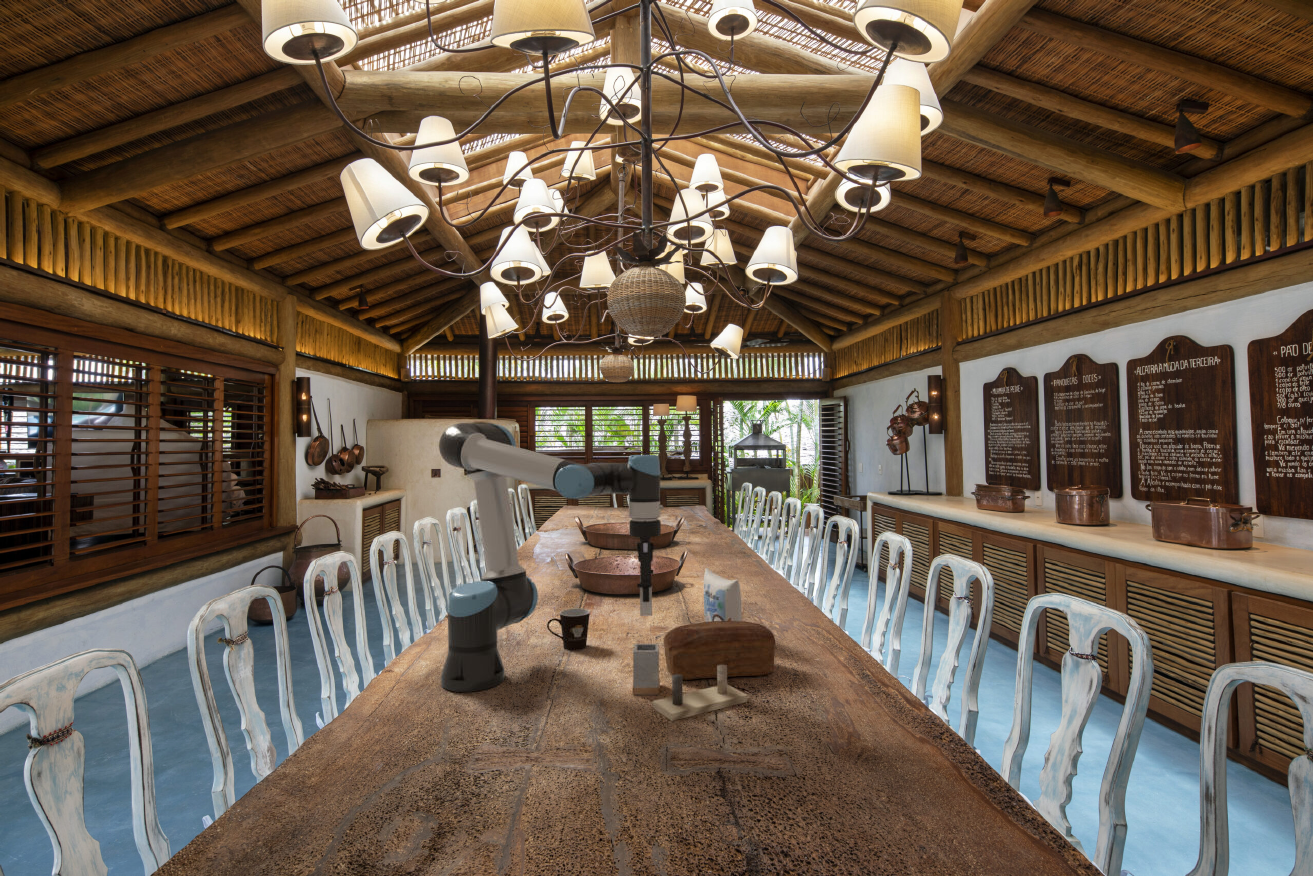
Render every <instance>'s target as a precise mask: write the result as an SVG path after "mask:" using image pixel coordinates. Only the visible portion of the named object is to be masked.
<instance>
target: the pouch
mask: <svg viewBox="0 0 1313 876" xmlns="http://www.w3.org/2000/svg"><path fill="white" fill-rule="evenodd" d="M704 570H705V571H704V573H703V575H704V576H703V607H704V608H703V610H704V611H703V615H704V622H710V621H743V616H742V614H743V613H742V594H741V585H740V582H739V580H738V578H736V579H734V580H732V579H726V578H723V577H722V576H721V575H718V574H716V573H714V572H713V571H712V570H710V569H708V568H707V567H705V569H704Z"/></svg>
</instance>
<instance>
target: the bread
mask: <svg viewBox="0 0 1313 876" xmlns="http://www.w3.org/2000/svg"><path fill="white" fill-rule="evenodd" d="M663 646H664V647H663V648H664V657H665V663H666V669H667V672H669V673H668V674H670V675H671V676H673V675H675V674H680V675H682V680H685V681H686V680H689V681H691V680H697V679H699V680H700V679H711V678H714V679H717V666H718V665H726V666H727V678H731V677H744V676H765V675H768V674H771V672H773V671H774V669H775V655H776V654H775V649H776V648H775V647H776V638H775V635H774V633H773V631H771V630H770V629H769V628H768V627H766V626H765V625H763V624H761V623H755V622H752V621H743V620H742V621H710V622H705V621H703V622H697V623H690V624H685V625H679V626H676V627H674V628H672V629H671V630H669V631H668V632H667V633H666V634H665V636H664V637H663Z"/></svg>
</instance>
